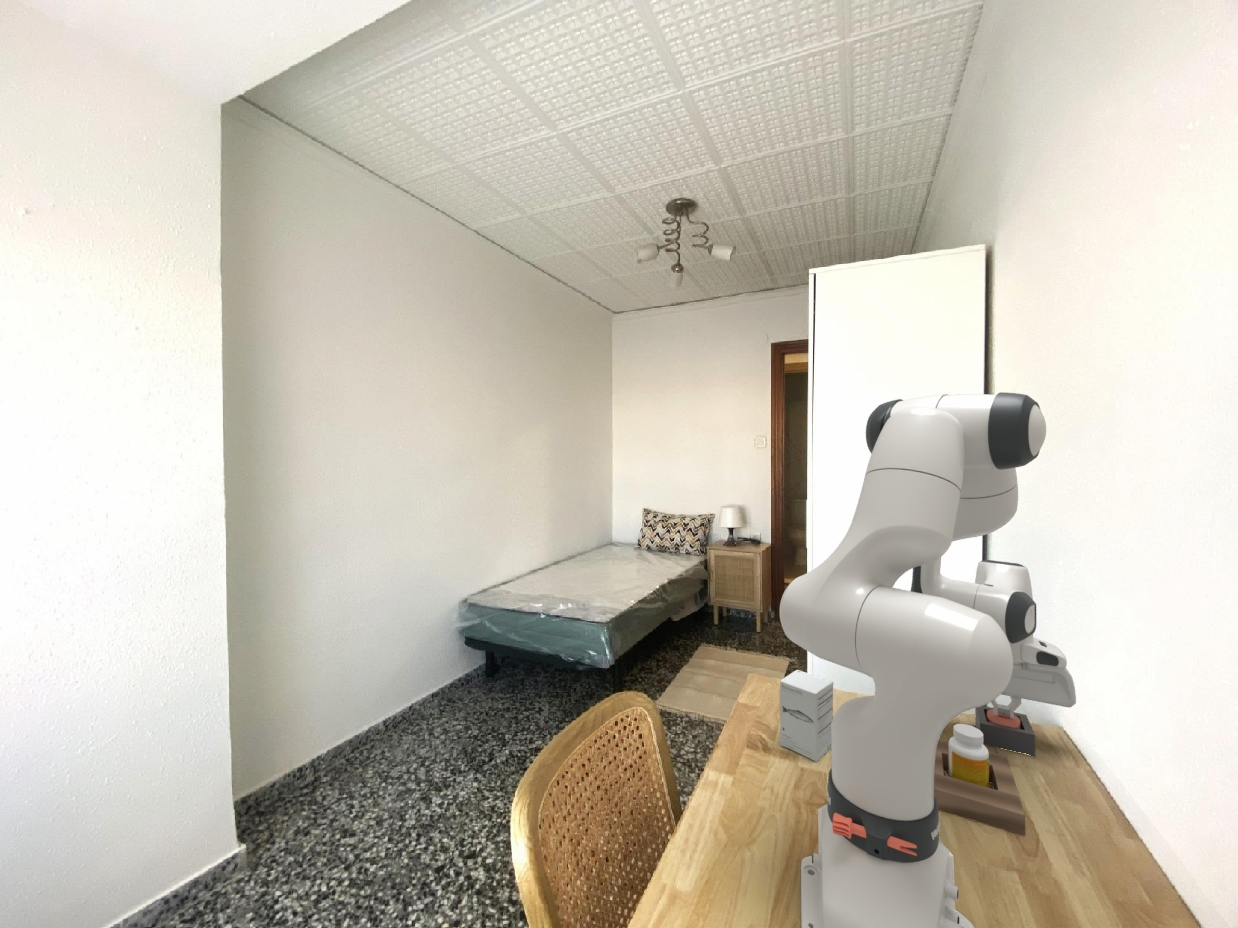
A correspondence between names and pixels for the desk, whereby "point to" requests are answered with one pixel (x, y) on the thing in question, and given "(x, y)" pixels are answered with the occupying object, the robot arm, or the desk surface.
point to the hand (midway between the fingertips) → (1003, 715)
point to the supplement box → (806, 714)
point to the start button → (1003, 720)
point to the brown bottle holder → (980, 793)
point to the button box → (1006, 733)
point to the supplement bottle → (968, 756)
